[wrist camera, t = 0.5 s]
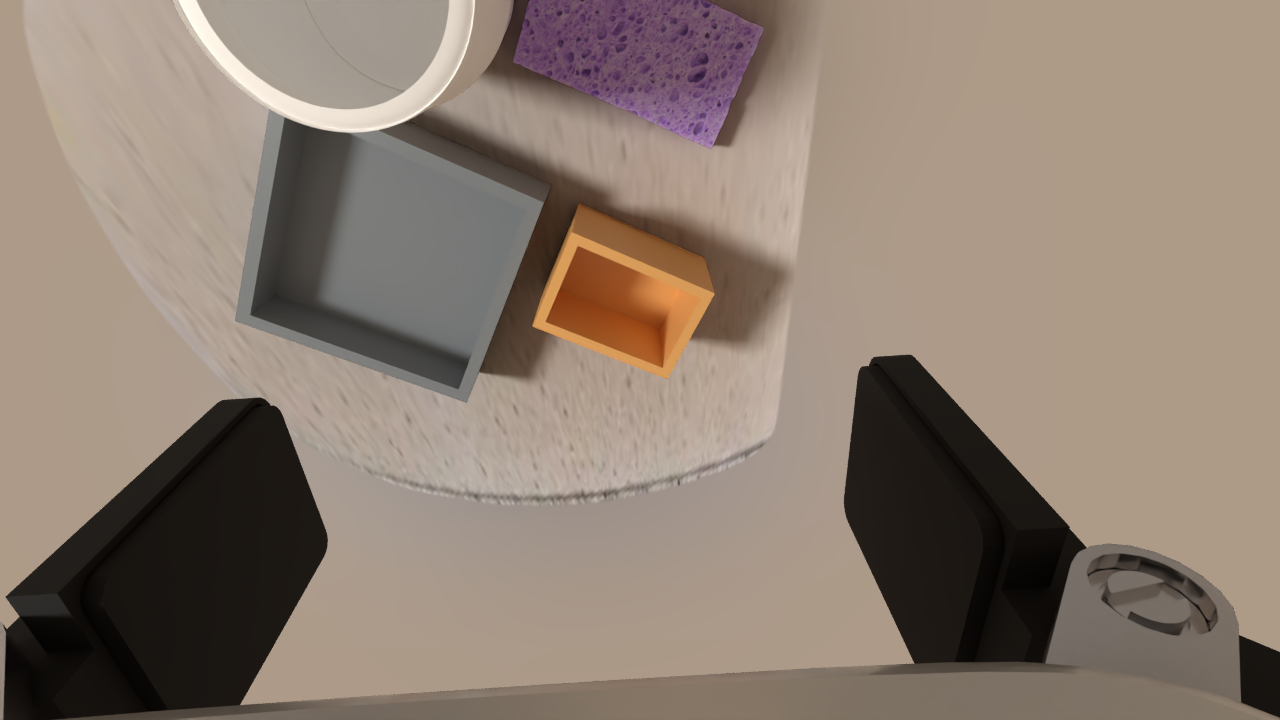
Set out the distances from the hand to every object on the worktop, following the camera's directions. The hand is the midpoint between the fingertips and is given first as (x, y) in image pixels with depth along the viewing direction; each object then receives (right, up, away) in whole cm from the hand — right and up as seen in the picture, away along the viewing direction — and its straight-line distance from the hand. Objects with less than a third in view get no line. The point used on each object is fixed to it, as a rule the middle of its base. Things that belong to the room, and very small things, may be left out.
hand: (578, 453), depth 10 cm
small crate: (0, +7, +32) cm, 33 cm away
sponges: (+1, +20, +26) cm, 33 cm away
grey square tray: (-14, +9, +31) cm, 35 cm away
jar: (-10, +22, +24) cm, 34 cm away
